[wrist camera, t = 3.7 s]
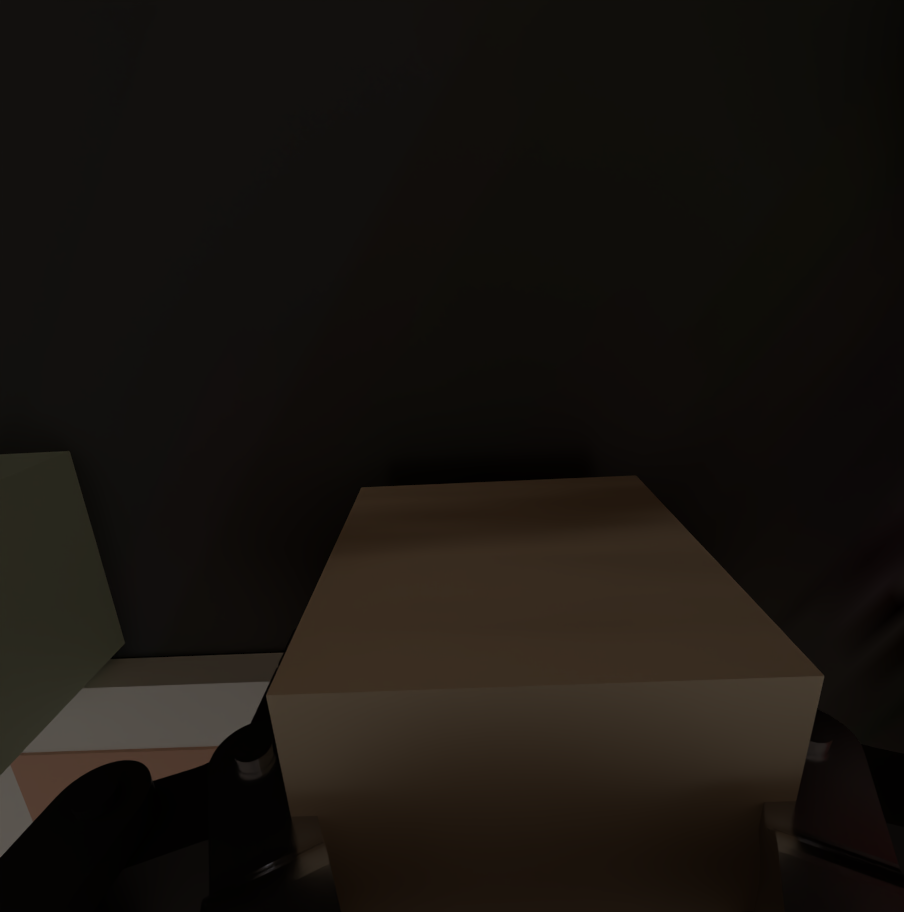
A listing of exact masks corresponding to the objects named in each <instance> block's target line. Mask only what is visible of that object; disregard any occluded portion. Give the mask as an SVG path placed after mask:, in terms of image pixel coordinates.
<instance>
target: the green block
mask: <svg viewBox="0 0 904 912" xmlns="http://www.w3.org/2000/svg"><path fill="white" fill-rule="evenodd" d="M124 644H125V641H124V638H123V634H122V631H121V627H120V624H119V620H118V617H117V613H116V610H115V607H114V603H113V600H112V596H111V593H110V589H109V586H108V582H107V579H106V575H105V572H104V568H103V565H102V561H101V558H100V555H99V551H98V548H97V544H96V541H95V537H94V534H93V530H92V527H91V523H90V520H89V516H88V513H87V509H86V506H85V503H84V499H83V496H82V492H81V489H80V485H79V482H78V478H77V475H76V471H75V468H74V464H73V461H72V457H71V454H70V451H60V452H39V453H19V454H0V775H1V774H2V773H3V772H4V771H5V770H6V769H7V768H8V767H9V766H10V764H11V763H12V762H13V761H14V760H15V759H16V758H17V757H18V756H19V755H20V754H21V753H22V752H23V751H24V750H25V749H26V748H27V746H28V745H29V744H30V743H31V742H32V741H33V740H34V739H35V738H36V737H37V736H38V735H39V734H40V733H41V732H42V731H43V730H44V728H45V727H46V726H47V725H48V724H49V723H50V722H51V721H52V720H53V719H54V718H55V717H56V716H57V715H58V714H59V713H60V712H61V710H62V709H63V708H64V707H65V706H66V705H67V704H68V703H69V702H70V701H71V700H72V699H73V698H74V697H75V696H76V695H77V694H78V692H79V691H80V690H81V689H82V688H83V687H84V686H85V685H86V684H87V683H88V682H89V681H90V680H91V679H92V678H93V677H94V676H95V674H96V673H97V672H98V671H99V670H100V669H101V668H102V667H103V666H104V665H105V664H106V663H107V662H108V661H109V660H110V659H111V658H112V656H113V655H114V654H115V653H116V652H117V651H118V650H119V649H120V648H121V647H122V646H123V645H124Z"/></svg>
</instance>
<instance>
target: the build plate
mask: <svg viewBox="0 0 904 912" xmlns="http://www.w3.org/2000/svg"><path fill="white" fill-rule="evenodd" d="M282 655H283V653H259V654H232V655H206V656H179V657H153V658H127V659H110V660H109V661H108V662H107V663H106V664H105V665H104V666H103V667H102V668H101V669H100V670H99V671H98V672H97V673H96V674H95V676H94V677H93V678H92V679H91V680H90V681H89V682H88V683H87V684H86V685H85V686H84V687H83V688H82V689H81V690H80V691H79V692H78V694H77V695H76V696H75V697H74V698H73V699H72V700H71V701H70V702H69V703H68V704H67V705H66V706H65V707H64V708H63V709H62V710H61V712H60V713H59V714H58V715H57V716H56V717H55V718H54V719H53V720H52V721H51V722H50V723H49V724H48V725H47V726H46V727H45V728H44V730H43V731H42V732H41V733H40V734H39V735H38V736H37V737H36V738H35V739H34V740H33V741H32V742H31V743H30V744H29V745H28V746H27V748H26V749H25V750H24V751H23V752H22V753H21V754H20V755H19V756H18V757H17V758H16V759H15V760H14V761H13V762H12V763H11V764H10V766H9V767H8V768H7V769H6V770H5V771H4V772H3V773H2V774H1V775H0V857H1V856H2V855H3V854H4V853H5V852H6V851H7V850H8V849H9V847H10V846H11V845H12V844H13V843H14V842H15V841H16V840H17V839H18V838H19V837H20V836H21V834H22V833H23V832H24V831H25V830H26V829H27V828H28V827H29V826H30V825H31V824H32V823H33V821H34V820H35V819H36V818H37V817H38V816H39V815H40V814H41V813H42V812H43V811H44V810H45V808H46V807H47V806H48V805H49V804H50V803H51V802H52V801H53V800H54V799H55V798H56V797H57V796H58V795H59V794H60V793H61V792H62V791H63V790H64V789H65V788H66V787H67V786H68V785H70V784H71V783H72V782H73V781H75V780H76V779H78V778H79V777H81V776H82V775H84V774H86V773H87V772H89V771H91V770H93V769H95V768H97V767H100V766H102V765H105V764H108V763H111V762H115V761H122V760H134V761H138V762H140V763H143V764H144V765H145V766H146V767H147V768H148V769H149V771H150V774H151V777H152V780H153V781H154V780H157V779H161V778H164V777H167V776H170V775H174V774H177V773H180V772H183V771H187V770H190V769H193V768H196V767H199V766H201V765H204V764H206V763H208V762H210V759H211V757H212V755H213V753H214V752H215V750H216V749H217V747H218V746H219V745H220V744H221V743H222V742H223V741H224V740H225V739H226V738H227V737H228V736H229V735H231V734H232V733H233V732H235V731H236V730H238V729H240V728H242V727H244V726H246V725H248V724H250V723H251V721H252V719H253V717H254V715H255V713H256V710H257V708H258V706H259V704H260V702H261V700H262V698H263V695H264V693H265V691H266V689H267V687H268V685H269V683H270V680H271V678H272V676H273V674H274V672H275V670H276V668H278V663H279V661H280V659H281V657H282Z"/></svg>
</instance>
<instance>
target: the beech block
mask: <svg viewBox="0 0 904 912" xmlns="http://www.w3.org/2000/svg"><path fill="white" fill-rule="evenodd" d="M823 680H824V675H823V674H822V673H821V672H820V671H819V670H818V669H817V667H816V666H815V665H814V664H813V663H812V662H811V661H810V660H809V659H808V658H807V657H806V656H805V655H804V654H803V653H802V652H801V650H800V649H799V648H798V647H797V646H796V645H795V644H794V643H793V642H792V641H791V640H790V639H789V638H788V637H787V636H786V634H785V633H784V632H783V631H782V630H781V629H780V628H779V627H778V626H777V625H776V624H775V623H774V622H773V621H772V620H771V619H770V617H769V616H768V615H767V614H766V613H765V612H764V611H763V610H762V609H761V608H760V607H759V606H758V605H757V604H756V603H755V601H754V600H753V599H752V598H751V597H750V596H749V595H748V594H747V593H746V592H745V591H744V590H743V589H742V588H741V587H740V586H739V584H738V583H737V582H736V581H735V580H734V579H733V578H732V577H731V576H730V575H729V574H728V573H727V572H726V571H725V570H724V569H723V567H722V566H721V565H720V564H719V563H718V562H717V561H716V560H715V559H714V558H713V557H712V556H711V555H710V554H709V553H708V551H707V550H706V549H705V548H704V547H703V546H702V545H701V544H700V543H699V542H698V541H697V540H696V539H695V538H694V537H693V536H692V534H691V533H690V532H689V531H688V530H687V529H686V528H685V527H684V526H683V525H682V524H681V523H680V522H679V521H678V520H677V519H676V517H675V516H674V515H673V514H672V513H671V512H670V511H669V510H668V509H667V508H666V507H665V506H664V505H663V504H662V503H661V501H660V500H659V499H658V498H657V497H656V496H655V495H654V494H653V493H652V492H651V491H650V490H649V489H648V488H647V487H646V486H645V484H644V483H643V482H642V481H641V480H640V479H639V478H638V477H637V476H636V475H635V476H612V477H589V478H566V479H543V480H520V481H497V482H474V483H451V484H428V485H405V486H383V487H361V489H360V492H359V494H358V496H357V498H356V500H355V503H354V505H353V507H352V509H351V511H350V513H349V516H348V518H347V520H346V522H345V524H344V526H343V529H342V531H341V533H340V535H339V537H338V540H337V542H336V544H335V546H334V548H333V550H332V553H331V555H330V557H329V559H328V561H327V564H326V566H325V568H324V570H323V572H322V574H321V577H320V579H319V581H318V583H317V585H316V587H315V590H314V592H313V594H312V596H311V598H310V601H309V603H308V605H307V607H306V609H305V611H304V614H303V616H302V618H301V620H300V622H299V625H298V627H297V629H296V631H295V633H294V635H293V638H292V640H291V642H290V644H289V646H288V648H287V651H286V653H285V655H284V657H283V659H282V662H281V664H280V666H279V668H278V670H277V672H276V675H275V677H274V679H273V681H272V683H271V686H270V688H269V690H268V692H267V694H266V698H267V703H268V708H269V712H270V717H271V722H272V727H273V732H274V737H275V741H276V746H277V751H278V756H279V761H280V766H281V770H282V775H283V780H284V785H285V790H286V795H287V799H288V804H289V809H290V814H291V817H295V816H318V820H319V825H320V829H321V833H322V838H323V842H325V845H326V849H327V853H328V857H329V862H330V866H331V870H332V875H333V879H334V883H335V888H336V892H337V896H338V901H339V905H340V909H341V912H745V911H754V908H755V903H756V898H757V893H758V887H759V877H760V844H759V831H758V829H759V824H760V818H761V813H762V808H763V803H764V802H780V801H796V799H797V795H798V791H799V786H800V782H801V777H802V773H803V768H804V764H805V760H806V755H807V751H808V746H809V742H810V737H811V733H812V729H813V724H814V720H815V715H816V711H817V706H818V702H819V698H820V693H821V689H822V684H823Z"/></svg>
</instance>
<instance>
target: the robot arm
mask: <svg viewBox="0 0 904 912" xmlns="http://www.w3.org/2000/svg"><path fill="white" fill-rule="evenodd" d="M296 629H297V628H296ZM296 629H295V630H294V631H293V633H292V635H291V638H290V640H289V642H288V644H287V646H286V648H285V652H284V653H283V655H282V657H281V659H280V661H279V663H278V668H279V666H280V664H281V662H282V659H283V657H284V655H285V653H286V651H287V648H288V646H289V644H290V642H291V640H292V638H293V635H294V633H295V631H296ZM278 668H276V670H275V672H274V674H273V676H272V678H271V680H270V683H269V685H268V687H267V689H266V691H265V693H264V695H263V698H262V700H261V702H260V704H259V706H258V708H257V710H256V713H255V715H254V717H253V719H252V721H251V723H250V724H248V725H246V726H244V727H242V728H240V729H238V730H236V731H235V732H233V733H232V734H231V735H229V736H228V737H227V738H226V739H225V740H224V741H223V742H222V743H221V744H220V745H219V746H218V747H217V749H216V750H215V752H214V753H213V755H212V757H211V759H210V762H208V763H206V764H204V765H201V766H199V767H196V768H193V769H190V770H187V771H183V772H180V773H177V774H174V775H170V776H167V777H164V778H161V779H157V780H154V781H153V780H152V777H151V774H150V771H149V769H148V768H147V767H146V766H145V765H144V764H143V763H140V762H138V761H134V760H122V761H115V762H111V763H108V764H105V765H102V766H100V767H97V768H95V769H93V770H91V771H89V772H87V773H86V774H84V775H82V776H81V777H79V778H78V779H76V780H75V781H73V782H72V783H71V784H70V785H68V786H67V787H66V788H65V789H64V790H63V791H62V792H61V793H60V794H59V795H58V796H57V797H56V798H55V799H54V800H53V801H52V802H51V803H50V804H49V805H48V806H47V807H46V808H45V810H44V811H43V812H42V813H41V814H40V815H39V816H38V817H37V818H36V819H35V820H34V821H33V823H32V824H31V825H30V826H29V827H28V828H27V829H26V830H25V831H24V832H23V833H22V834H21V836H20V837H19V838H18V839H17V840H16V841H15V842H14V843H13V844H12V845H11V846H10V847H9V849H8V850H7V851H6V852H5V853H4V854H3V855H2V856H1V857H0V912H341V909H340V905H339V901H338V896H337V892H336V888H335V883H334V879H333V875H332V870H331V866H330V862H329V857H328V853H327V849H326V845H325V842H323V838H322V833H321V829H320V825H319V820H318V816H295V817H291V814H290V809H289V804H288V799H287V795H286V790H285V785H284V780H283V775H282V770H281V766H280V761H279V756H278V751H277V746H276V741H275V737H274V732H273V727H272V722H271V717H270V712H269V708H268V703H267V698H266V694H267V692H268V690H269V688H270V686H271V683H272V681H273V679H274V677H275V675H276V672H277V670H278ZM758 831H759V844H760V877H759V887H758V893H757V898H756V903H755V908H754V911H745V912H904V754H902V753H897V752H892V751H888V750H883V749H878V748H874V747H870V746H866V745H862V744H860V742H859V741H858V739H857V738H856V737H855V735H854V734H853V733H852V732H851V731H850V730H849V729H848V728H847V727H846V726H844V725H843V724H842V723H840V722H839V721H838V720H836V719H835V718H833V717H831V716H830V715H828V714H826V713H824V712H822V711H820V710H818V709H817V711H816V715H815V720H814V724H813V729H812V733H811V737H810V742H809V746H808V751H807V755H806V760H805V764H804V768H803V773H802V777H801V782H800V786H799V791H798V795H797V799H796V801H780V802H764V803H763V808H762V813H761V818H760V824H759V829H758Z"/></svg>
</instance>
